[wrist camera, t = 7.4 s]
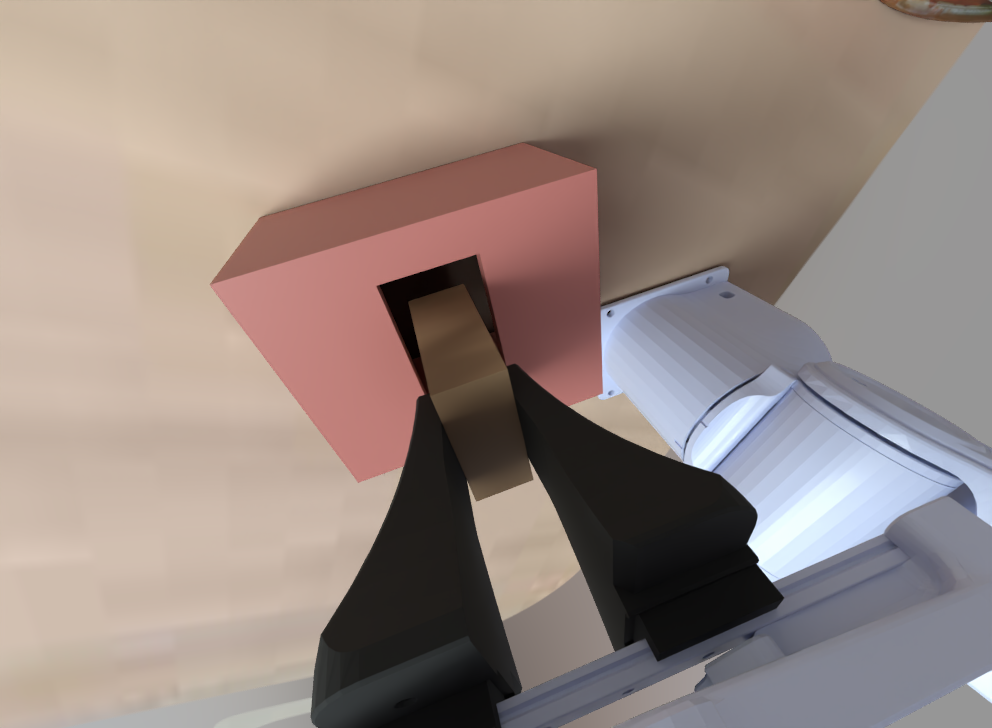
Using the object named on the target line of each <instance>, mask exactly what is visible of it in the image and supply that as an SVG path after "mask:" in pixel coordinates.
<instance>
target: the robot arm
mask: <svg viewBox="0 0 992 728" xmlns="http://www.w3.org/2000/svg"><path fill="white" fill-rule="evenodd" d="M728 276H729V269H728V268H726V267H724V266H720V267H717V268H714V269H711V270H708V271H705V272H702V273H699V274H696V275H693V276H690V277H687V278H684V279H681V280H678V281H675V282H673V283H670V284H667V285H664V286H661V287H658V288H655V289H652V290H649V291H646V292H643V293H640V294H637V295H634V296H631V297H628V298H625V299H622V300H620V301H617V302H614V303H611V304H608V305H605V306H602V307H601V341H602V378H603V394H600V395H597V396H598V397H599V399H601V400H604V399H607V398H610V397H613V396H615V395H618V394H621V393H625V395H626V396H627V397H628V398H629V399H630V400H631V402H632V403H633V404H634V405H635V406H636V407H637V409H638V410H639V411H640V412H641V413H642V414H643V416H644V417H645V418H646V419H647V420H648V421H649V423H650V424H651V425H652V426H653V427H654V428H655V430H656V431H657V432H658V433H659V434H660V435H661V437H662V438H663V439H664V440H665V441H666V442H667V444H668V445H669V446H670V447H671V448H672V449H673V450H674V451H675V453H676V454H677V455H678V456H679V457H680V459H681V460H682V461H683V463H681V462H678V461H676V460H673V459H670V458H668V457H665V456H662V455H660V454H657V453H655V452H653V451H650V450H648V449H646V448H643V447H641V446H639V445H637V444H634V443H632V442H630V441H628V440H625V439H623V438H621V437H619V436H617V435H615V434H613V433H611V432H609V431H608V430H606V429H604V428H602V427H600V426H599V425H597V424H595V423H593V422H592V421H590V420H588V419H587V418H585V417H583V416H582V415H580V414H579V413H577V412H576V411H574V410H573V409H571V408H570V407H568V406H567V405H565V404H564V403H562V402H561V401H560V400H558V399H557V398H556V397H554V396H553V395H552V394H550V393H549V392H548V391H547V390H545V389H544V388H543V387H542V386H540V385H539V384H538V383H537V382H536V381H534V380H533V379H532V378H531V377H530V376H529V375H528V374H527V373H526V372H525V371H524V370H522V369H521V368H520V366H519V365H517V364H515V363H514V364H512V365H509V366H506V367H507V369H508V374H509V378H510V382H511V386H512V391H513V395H514V399H515V403H516V408H517V412H518V416H519V421H520V425H521V429H522V433H523V438H524V442H525V446H526V450H527V455H528V458H529V460H530V462H531V463H532V465H533V467H534V469H535V471H536V473H537V474H538V476H539V478H540V480H541V482H542V483H543V485H544V487H545V489H546V491H547V493H548V494H549V496H550V498H551V500H552V502H553V504H554V506H555V508H556V511H557V513H558V515H559V518H560V520H561V522H562V525H563V527H564V529H565V532H566V534H567V536H568V539H569V541H570V543H571V546H572V548H573V550H574V553H575V555H576V558H577V560H578V562H579V565H580V567H581V569H582V572H583V574H584V577H585V579H586V581H587V584H588V586H589V589H590V591H591V594H592V596H593V598H594V601H595V603H596V606H597V608H598V611H599V613H600V616H601V618H602V621H603V623H604V626H605V628H606V630H607V633H608V636H609V638H610V640H611V643H612V646H613V648H614V650H615V652H613V653H611V654H609V655H606V656H604V657H602V658H599V659H597V660H595V661H593V662H590V663H588V664H586V665H584V666H582V667H579V668H577V669H574V670H572V671H570V672H568V673H565V674H563V675H561V676H559V677H556V678H554V679H552V680H549V681H547V682H545V683H543V684H540V685H538V686H536V687H533V688H531V689H529V690H527V691H524V692H522V693H521V690H522V686H521V683H520V680H519V676H518V673H517V670H516V666H515V663H514V660H513V657H512V653H511V650H510V646H509V643H508V640H507V637H506V633H505V630H504V627H503V623H502V620H501V616H500V613H499V609H498V606H497V603H496V599H495V596H494V592H493V589H492V585H491V582H490V578H489V575H488V571H487V568H486V564H485V561H484V557H483V554H482V550H481V547H480V543H479V540H478V536H477V531H476V527H475V522H474V517H473V511H472V506H471V500H470V495H469V490H468V484H467V479H466V477H465V474H464V472H463V470H462V468H461V465H460V463H459V461H458V458H457V456H456V454H455V452H454V449H453V447H452V445H451V442H450V440H449V438H448V436H447V433H446V431H445V429H444V427H443V424H442V422H441V420H440V417H439V415H438V413H437V411H436V408H435V406H434V404H433V401H432V399H431V397H430V393H428V394H425V395H422V396H419V397H418V399H417V400H416V411H415V419H414V425H413V431H412V435H411V440H410V444H409V449H408V453H407V457H406V460H405V464H404V467H403V471H402V474H401V477H400V481H399V484H398V487H397V489H396V492H395V495H394V498H393V500H392V503H391V505H390V508H389V511H388V513H387V515H386V518H385V520H384V522H383V524H382V527H381V529H380V531H379V534H378V536H377V538H376V540H375V542H374V544H373V546H372V548H371V550H370V552H369V554H368V556H367V557H366V559H365V561H364V563H363V565H362V567H361V569H360V571H359V572H358V574H357V576H356V578H355V580H354V582H353V584H352V585H351V587H350V589H349V590H348V592H347V594H346V595H345V597H344V599H343V600H342V602H341V603H340V605H339V607H338V608H337V610H336V611H335V613H334V615H333V616H332V618H331V620H330V621H329V623H328V624H327V626H326V627H325V629H324V631H323V632H322V634H321V637H320V642H319V647H318V653H317V658H316V664H315V670H314V681H313V694H312V707H311V719H312V723H313V724H314V725H315V726H316V727H318V728H558V727H560V726H562V725H565V724H567V723H569V722H571V721H573V720H575V719H578V718H580V717H582V716H584V715H586V714H589V713H591V712H593V711H595V710H598V709H600V708H602V707H604V706H606V705H609V704H611V703H613V702H615V701H617V700H620V699H622V698H624V697H626V696H628V695H631V694H633V693H635V692H637V691H639V690H642V689H644V688H646V687H648V686H650V685H653V684H655V683H657V682H659V681H661V680H664V679H666V678H668V677H670V676H672V675H675V674H677V673H679V672H681V671H683V670H686V669H688V668H690V667H692V666H694V665H697V664H699V663H701V662H703V661H705V660H708V659H710V658H712V657H714V656H716V655H719V654H721V653H723V652H725V651H727V650H730V649H731V650H730V651H728V652H726V653H725V654H723V655H721V656H720V657H718V658H717V659H715V660H713V661H712V662H710V663H708V664H707V665H706V666H705V672H706V675H705V677H704V678H703V679H702V680H701V681H700V682H699V683H698V684H697V685H696V686H695V692H693V693H691V694H688V695H686V696H683V697H681V698H678V699H676V700H674V701H671V702H669V703H666V704H664V705H661V706H659V707H657V708H654V709H652V710H649V711H647V712H645V713H642V714H640V715H638V716H636V717H633V718H631V719H629V720H627V721H624V722H622V723H619V724H618V725H616V726H613V727H611V728H885V727H887V726H888V725H890V724H892V723H894V722H896V721H898V720H900V719H901V718H903V717H905V716H907V715H909V714H911V713H913V712H915V711H917V710H918V709H920V708H922V707H924V706H926V705H927V704H930V703H931V702H933V701H935V700H937V699H939V698H941V697H943V696H945V695H946V694H948V693H950V692H952V691H954V690H956V689H958V688H960V687H961V686H963V685H965V684H968V685H969V686H970V687H972V688H973V689H974V690H975V691H977V692H978V693H979V694H981V695H982V696H983V697H984V698H986V699H987V700H988V701H990V702H991V703H992V448H991V447H989V446H987V445H985V444H984V443H982V442H980V441H978V440H977V439H976V438H974V437H973V436H971V435H970V434H968V433H967V432H966V431H964V430H962V429H961V428H959V427H958V426H956V425H955V424H953V423H951V422H950V421H948V420H946V419H945V418H943V417H942V416H940V415H938V414H936V413H935V412H933V411H931V410H930V409H928V408H926V407H924V406H923V405H921V404H919V403H917V402H915V401H914V400H912V399H910V398H908V397H906V396H905V395H903V394H901V393H899V392H897V391H895V390H893V389H891V388H889V387H888V386H886V385H884V384H882V383H880V382H878V381H876V380H874V379H872V378H870V377H868V376H866V375H864V374H862V373H860V372H858V371H855V370H853V369H851V368H849V367H846V366H844V365H842V364H839V363H836V362H833V361H832V358H831V356H830V353H829V351H828V349H827V347H826V346H825V344H824V343H823V341H822V340H821V338H820V337H819V336H818V335H817V334H816V332H815V331H814V330H812V329H811V328H810V327H809V326H808V325H807V324H805V323H804V322H802V321H801V320H799V319H797V318H795V317H793V316H791V315H790V314H788V313H786V312H784V311H782V310H780V309H779V308H777V307H775V306H773V305H771V304H769V303H767V302H766V301H764V300H762V299H760V298H758V297H756V296H754V295H752V294H751V293H749V292H747V291H745V290H743V289H741V288H739V287H737V286H736V285H734V284H732V283H730V282H728ZM707 278H708V279H707ZM706 279H707V280H706ZM610 310H611V312H610V313H609V314H607V313H608V312H609V311H610ZM734 647H735V648H734ZM732 648H733V649H732Z"/></svg>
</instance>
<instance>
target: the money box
mask: <svg viewBox="0 0 992 728" xmlns="http://www.w3.org/2000/svg"><path fill="white" fill-rule="evenodd" d="M473 255H477V260H478V264H479V268H480V272H481V276H482V280H483V284H484V288H485V292H486V297H487V301H488V305H489V309H490V313H491V317H492V321H493V325H494V329H495V332H493V333H490V336H491V338H492V340H493V342H494V344H495V346H496V348H497V350H498V352H499V354H500V356H501V358H502V359H503V361H504V363H505V365H506V366H509V365H512V364H514V363H515V364H517V365H519V366H520V368H521V369H522V370H524V371H525V372H526V373H527V374H528V375H529V376H530V377H531V378H532V379H533V380H534V381H536V382H537V383H538V384H539V385H540V386H542V387H543V388H544V389H545V390H547V391H548V392H549V393H550V394H552V395H553V396H554V397H556V398H557V399H558V400H560V401H561V402H562V403H564V404H565V405H567V406H570V405H573V404H575V403H578V402H581V401H584V400H586V399H589V398H592V397H595V396H597V395H600V394H603V378H602V341H601V305H600V268H599V232H598V195H597V169H596V168H593V167H591V166H588V165H585V164H582V163H579V162H576V161H574V160H571V159H568V158H565V157H562V156H560V155H557V154H554V153H551V152H548V151H545V150H543V149H540V148H537V147H534V146H531V145H529V144H526V143H519V144H516V145H512V146H509V147H505V148H502V149H498V150H495V151H491V152H488V153H484V154H481V155H477V156H474V157H470V158H467V159H463V160H460V161H456V162H453V163H449V164H446V165H442V166H439V167H435V168H432V169H428V170H425V171H421V172H418V173H414V174H411V175H407V176H404V177H400V178H397V179H393V180H390V181H386V182H383V183H379V184H376V185H372V186H369V187H365V188H362V189H358V190H355V191H351V192H348V193H345V194H341V195H338V196H334V197H331V198H327V199H324V200H320V201H317V202H313V203H310V204H306V205H303V206H299V207H296V208H292V209H289V210H285V211H282V212H278V213H275V214H271V215H268V216H264V217H261V218H259V219H258V221H257V222H256V223H255V225H254V226H253V227H252V229H251V230H250V231H249V233H248V234H247V235H246V237H245V238H244V239H243V241H242V242H241V243H240V245H239V246H238V248H237V249H236V250H235V252H234V253H233V254H232V256H231V257H230V258H229V260H228V261H227V262H226V264H225V265H224V266H223V268H222V269H221V270H220V272H219V273H218V274H217V276H216V277H215V278H214V280H213V281H212V282H211V284H210V286H211V287H212V289H213V290H214V291H215V293H216V294H217V295H218V297H219V298H220V299H221V301H222V302H223V303H224V305H225V306H226V307H227V309H228V310H229V311H230V313H231V314H232V315H233V317H234V318H235V319H236V321H237V322H238V323H239V325H240V326H241V327H242V329H243V330H244V331H245V333H246V334H247V335H248V336H249V338H250V339H251V340H252V342H253V343H254V344H255V346H256V347H257V348H258V350H259V351H260V352H261V354H262V355H263V356H264V358H265V359H266V360H267V362H268V363H269V364H270V366H271V367H272V368H273V370H274V371H275V372H276V374H277V375H278V376H279V378H280V379H281V380H282V382H283V383H284V384H285V386H286V387H287V388H288V390H289V391H290V392H291V394H292V395H293V396H294V398H295V399H296V400H297V402H298V403H299V404H300V406H301V407H302V408H303V410H304V411H305V412H306V414H307V415H308V416H309V418H310V419H311V420H312V422H313V423H314V424H315V426H316V427H317V428H318V430H319V431H320V432H321V434H322V435H323V436H324V438H325V439H326V440H327V442H328V443H329V444H330V446H331V447H332V448H333V450H334V451H335V452H336V454H337V455H338V456H339V457H340V459H341V460H342V461H343V463H344V464H345V465H346V467H347V468H348V469H349V471H350V472H351V473H352V475H353V476H354V477H355V479H356V480H357V481H358V483H359V482H361V481H364V480H367V479H370V478H372V477H375V476H378V475H381V474H383V473H386V472H389V471H392V470H394V469H397V468H400V467H403V466H404V464H405V460H406V457H407V453H408V449H409V444H410V440H411V435H412V431H413V425H414V419H415V411H416V400H417V399H418V397H419V396H422V395H425V394H428V393H429V389H428V385H427V380H426V376H425V372H424V368H423V363H422V359H421V357H418V358H415V359H411V357H410V354H409V352H408V350H407V347H406V345H405V343H404V341H403V338H402V336H401V334H400V331H399V329H398V327H397V325H396V322H395V320H394V318H393V315H392V313H391V311H390V309H389V306H388V304H387V302H386V299H385V297H384V295H383V293H382V290H381V288H380V286H379V285H381V284H384V283H387V282H390V281H393V280H397V279H400V278H403V277H406V276H409V275H413V274H416V273H419V272H422V271H425V270H428V269H432V268H435V267H438V266H441V265H444V264H448V263H451V262H454V261H457V260H460V259H464V258H467V257H470V256H473Z"/></svg>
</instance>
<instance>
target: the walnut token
mask: <svg viewBox="0 0 992 728" xmlns="http://www.w3.org/2000/svg"><path fill="white" fill-rule="evenodd" d="M408 303H409V307H410V311H411V316H412V320H413V324H414V329H415V333H416V337H417V342H418V346H419V350H420V355H421V359H422V363H423V368H424V372H425V376H426V380H427V385H428V389H429V393H430V397H431V399H432V401H433V404H434V406H435V408H436V411H437V413H438V415H439V417H440V420H441V422H442V424H443V427H444V429H445V431H446V433H447V436H448V438H449V440H450V442H451V445H452V447H453V449H454V452H455V454H456V456H457V458H458V461H459V463H460V465H461V468H462V470H463V472H464V474H465V477H466V479H467V481H468V483H469V486H470V488H471V490H472V493H473V495H474V497H475V499H476V502H477V501H479V500H482V499H484V498H487V497H490V496H492V495H495V494H498V493H500V492H503V491H505V490H508V489H511V488H513V487H516V486H518V485H521V484H524V483H526V482H529V481H531V480H533V476H532V472H531V467H530V463H529V459H528V455H527V450H526V446H525V442H524V438H523V433H522V429H521V425H520V421H519V416H518V412H517V408H516V403H515V399H514V395H513V391H512V386H511V382H510V378H509V374H508V369H507V367H506V365H505V363H504V361H503V359H502V358H501V356H500V354H499V352H498V350H497V348H496V346H495V344H494V342H493V340H492V338H491V336H490V334H489V332H488V330H487V328H486V326H485V324H484V322H483V321H482V319H481V317H480V315H479V313H478V311H477V309H476V307H475V305H474V303H473V301H472V299H471V297H470V295H469V293H468V291H467V289H466V287H465V285H464V284H461V285H458V286H455V287H452V288H449V289H446V290H442V291H439V292H436V293H433V294H430V295H427V296H424V297H421V298H418V299H415V300H411V301H408Z"/></svg>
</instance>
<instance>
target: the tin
mask: <svg viewBox="0 0 992 728" xmlns="http://www.w3.org/2000/svg"><path fill="white" fill-rule="evenodd" d="M880 1H881V2H883V3H884V4H886V5H888V6H889V7H891V8H894V9H896V10H898V11H901V12H903V13H906V14H909V15H912V16H916V17H920V18H925V19H929V20H938V21H948V22H963V23H976V22H992V0H880Z"/></svg>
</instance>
